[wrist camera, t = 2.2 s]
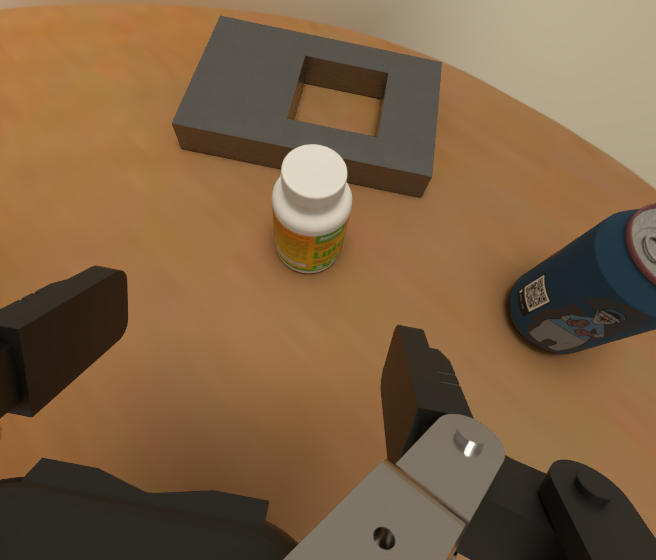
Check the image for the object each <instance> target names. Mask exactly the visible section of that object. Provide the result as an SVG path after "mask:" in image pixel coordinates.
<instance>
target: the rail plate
mask: <svg viewBox="0 0 656 560" xmlns="http://www.w3.org/2000/svg"><path fill="white" fill-rule="evenodd" d="M441 67H442V62H438V61H434V60H429V59H424V58H419V57H415V56H410V55H405V54H400V53H396V52H391V51H386V50H381V49H377V48H372V47H367V46H362V45H357V44H353V43H348V42H343V41H338V40H334V39H329V38H324V37H319V36H315V35H310V34H305V33H300V32H296V31H291V30H286V29H281V28H277V27H272V26H267V25H262V24H257V23H253V22H248V21H243V20H238V19H234V18H229V17H224V16H220V17H219V20H218V22H217V24H216V26H215V29H214V31H213V33H212V35H211V37H210V40H209V42H208V44H207V46H206V48H205V51H204V53H203V55H202V57H201V60H200V62H199V64H198V66H197V68H196V71H195V73H194V75H193V77H192V80H191V82H190V84H189V86H188V88H187V91H186V93H185V95H184V97H183V99H182V102H181V104H180V106H179V108H178V111H177V113H176V115H175V117H174V119H173V122H172V125H173V128H174V131H175V133H176V136H177V138H178V141H179V143H180V146H181V149H185V150H190V151H195V152H200V153H205V154H210V155H215V156H219V157H224V158H229V159H234V160H239V161H244V162H249V163H254V164H259V165H264V166H268V167H273V168H278V169H281V167H282V163H283V160H284V159H285V157H286V156H287V155H288V153H289V152H291V151H292V150H294V149H295V148H297V147H300V146H303V145H309V144H316V145H322V146H325V147H328V148H330V149H332V150H334V151H335V152H336V153H338V154H339V155H340V156H341V158H342V159H343V161H344V162H345V164H346V167H347V181H346V182H347V183H352V184H356V185H361V186H366V187H371V188H376V189H381V190H386V191H391V192H396V193H401V194H405V195H410V196H415V197H420V198H421V196H422V194H423V192H424V191H425V189H426V187H427V185H428V183H429V182H430V180H431V178H432V172H433V160H434V149H435V137H436V125H437V114H438V102H439V91H440V79H441ZM304 83H306V84H311V85H316V86H321V87H326V88H330V89H335V90H340V91H345V92H350V93H355V94H359V95H364V96H369V97H374V98H379V99H381V105H380V111H379V116H378V122H377V128H376V134H375V137H374V136H369V135H364V134H359V133H354V132H349V131H345V130H340V129H335V128H330V127H325V126H320V125H315V124H311V123H306V122H301V121H296V120H294V118H295V114H296V111H297V107H298V104H299V100H300V97H301V93H302V89H303V86H304Z"/></svg>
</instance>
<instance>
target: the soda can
mask: <svg viewBox="0 0 656 560" xmlns="http://www.w3.org/2000/svg"><path fill="white" fill-rule="evenodd" d="M510 313H511V318H512V320H513V323H514V325H515V327H516V328H517V330H518V331H519V332H520V333H521V334H522V335H523V336H524V337H525V338H526V339H527V340H528V341H530V342H531V343H533V344H535V345H536V346H538V347H540V348H542V349H544V350H547V351H550V352H554V353H559V354H569V353H575V352H578V351H582V350H585V349H589V348H592V347H596V346H599V345H602V344H606V343H609V342H613V341H616V340H620V339H623V338H627V337H630V336H634V335H637V334H641V333H644V332H648V331H651V330H655V329H656V203H654V204H650V205H647V206H645V207H643V208H641V209H635V210H628V211H622V212H618V213H616V214H613V215H611V216H609V217H608V218H606V219H605V220H603V221H602V222H601V223H599V224H598V225H596V226H595V227H593V228H592V229H590V230H589V231H587V232H586V233H584V234H583V235H581V236H580V237H578V238H577V239H575V240H574V241H572V242H571V243H570V244H568V245H567V246H565V247H564V248H562V249H561V250H559V251H558V252H556V253H555V254H553V255H552V256H550V257H549V258H547V259H546V260H544V261H543V262H542V263H540V264H539V265H537V266H536V267H534V268H533V269H531V270H530V271H528V272H527V273H525V274H524V275H522V276H521V277H520V278H519V279H518V280H517V281H516V283H515V285H514V286H513V289H512V291H511V295H510Z"/></svg>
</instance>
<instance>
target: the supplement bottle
mask: <svg viewBox="0 0 656 560" xmlns="http://www.w3.org/2000/svg"><path fill="white" fill-rule="evenodd" d="M346 181H347V167H346V164H345V162H344V161H343V159H342V158H341V156H340V155H339V154H338V153H336V152H335V151H334V150H332V149H330V148H328V147H325V146H322V145H316V144H309V145H303V146H300V147H297V148H295V149H294V150H292V151H291V152H289V153H288V155H287V156H286V157H285V159H284V160H283V163H282V167H281V176H280V177H279V179H278V180H277V182H276V184H275V186H274V189H273V193H272V210H273V221H274V232H275V244H276V250H277V253H278V255H279V257H280V259H281V260H282V261H283V262H284V263H285V264H286V265H287V266H288V267H290V268H291V269H293V270H295V271H298V272H302V273H316V272H320V271H323V270H325V269H327V268H328V267H329V266H331V265H332V264H333V263H334V262H335V260H336V259H337V257H338V255H339V252H340V250H341V246H342V242H343V239H344V235H345V231H346V227H347V223H348V220H349V216H350V212H351V207H352V194H351V190H350V187H349V185H348V183H347V182H346Z"/></svg>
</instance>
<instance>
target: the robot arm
mask: <svg viewBox="0 0 656 560" xmlns="http://www.w3.org/2000/svg"><path fill="white" fill-rule="evenodd" d="M127 323H128V294H127V276H126V274H125V272H123V271H121V270H116V269H111V268H106V267H101V266H92V267H90V268H88V269H87V270H85V271H83V272H81V273H79V274H77V275H75V276H73V277H71V278H69V279H67V280H63V281H59V282H55V283H51V284H49V285H47V286H45V287H43V288H41V289H39V290H37V291H36V292H35V294H33V293H32V294H30V295H28V296H26V297H24V298H22V300H21V301H20V300H18V301H16V302H14V303H12V304H10V305H8V306H6V307H4V308H2V309H0V418H1V417H3V416H4V415H5V414H6V413H12V414H17V415H22V416H27V417H33V416H34V415H35V414H36V413H38V412H39V411H40V410H41V409H42V408H43V407H44V406H45V405H47V404H48V403H49V402H50V401H51V400H52V399H53V398H54V397H56V396H57V395H58V394H59V393H60V392H61V391H62V390H63V389H65V388H66V387H67V386H68V385H69V384H70V383H71V382H72V381H74V380H75V379H76V378H77V377H78V376H79V375H80V374H81V373H83V372H84V371H85V370H86V369H87V368H88V367H89V366H90V365H92V364H93V363H94V362H95V361H96V360H97V359H98V358H99V357H101V356H102V355H103V354H104V353H105V352H106V351H107V350H108V349H110V348H111V347H112V346H113V345H114V344H115V343H116V342H117V341H119V340H120V339H121V337H122V336H123V334H124V332H125V330H126V327H127ZM381 398H382V408H383V418H384V428H385V438H386V448H387V458H388V459H386V460H384V461H382V462H381V463H380V464H379V465H378V466H377V467H376V468H375V469H374V470H373V471H372V472H371V473H370V474H369V475H368V476H367V477H366V478H365V479H364V480H363V481H362V482H361V483H360V484H359V485H358V486H357V487H356V488H355V489H354V490H353V491H352V492H351V493H350V494H349V495H348V496H347V497H346V498H345V499H344V500H343V501H342V502H341V503H340V504H339V505H338V506H336V507H335V508H334V509H333V510H332V511H331V512H330V513H329V514H328V515H327V516H326V517H325V518H324V519H323V520H322V521H321V522H320V523H319V524H318V525H317V526H316V527H315V528H314V529H313V530H312V531H311V532H310V533H309V534H308V535H307V536H306V537H305V538H304V539H303V540H302V541H301V542H300V543H297V542H296V541H295V540H294V539H293V538H292V537H291V536H289V535H288V534H287V533H286V532H284V531H283V530H281V529H280V528H278V527H277V526H275V525H273V524H272V523H270V522H268V521H266V516H267V511H268V505H269V501H267V500H261V499H256V498H251V497H246V496H240V495H235V494H230V493H225V492H219V491H214V490H211V491H190V492H169V493H148V492H145V491H142V490H140V489H138V488H136V487H134V486H132V485H130V484H128V483H126V482H124V481H122V480H120V479H118V478H116V477H114V476H112V475H110V474H108V473H106V472H104V471H102V470H100V469H99V468H94V467H88V466H83V465H78V464H73V463H67V462H62V461H57V460H52V459H46V458H42V459H41V460H40V461H39V462H38V463H37V464H36V465H35V466H34V467H33V468H32V469H31V470H30V471H29V472H28V473H27V474H26V475H25V477H16V478H9V479H1V480H0V560H455V559H456V557H457V555H458V554H459V553H460V554H461V555H463V556H465V557H467V558H469V559H471V560H656V538H655V537H654V536H653V534H652V533H651V531H650V530H649V528H648V527H647V525H646V524H645V522H644V521H643V519H642V518H641V517H640V515H639V514H638V512H637V511H636V509H635V508H634V506H633V505H632V503H631V502H630V501H629V499H628V498H627V497H626V495H625V494H624V493H623V492H622V491H621V490H620V489H619V488H618V487H617V486H616V485H615V484H614V483H613V482H612V481H610V480H609V479H608V478H607V477H605V476H604V475H602V474H601V473H599V472H598V471H596V470H594V469H592V468H590V467H588V466H586V465H584V464H581V463H579V462H575V461H571V460H557V461H555V462H554V463H553V464H552V465H551V467H550V468H549V470H548V472H547V474H546V473H543V472H541V471H539V470H536V469H534V468H532V467H529V466H527V465H525V464H522V463H520V462H518V461H516V460H514V459H511V458H509V457H508V456H506V455H505V450H504V447H503V444H502V443H501V441H500V439H499V438H498V437H497V436H496V435H495V434H494V433H493V432H492V431H491V430H490V429H489V428H488V427H486V426H485V425H483V424H482V423H480V422H479V421H477V420H475V419H474V418H473V416H472V414H471V411H470V409H469V406H468V404H467V401H466V399H465V397H464V394H463V392H462V389H461V387H460V386H459V382H458V380H457V377H456V376H455V372H454V370H453V367H452V365H451V363H450V361H449V360H448V359H447V358H446V357H445V356H444V355H443V354H442V353H441V352H440V351H439V350H438V349H433V348H429V345H428V342H427V339H426V336H425V333H424V331H423V330H422V329H417V328H412V327H407V326H402V325H397V326H396V328H395V330H394V333H393V337H392V340H391V344H390V347H389V351H388V354H387V358H386V361H385V365H384V368H383V372H382V378H381ZM1 431H2V428H1V422H0V438H1Z"/></svg>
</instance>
